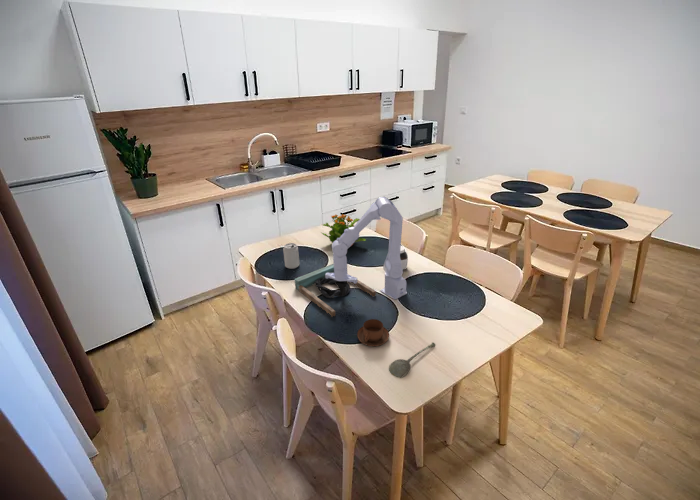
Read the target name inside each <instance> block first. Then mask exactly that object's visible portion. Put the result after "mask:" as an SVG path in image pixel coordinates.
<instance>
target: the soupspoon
mask: <svg viewBox="0 0 700 500" xmlns="http://www.w3.org/2000/svg"><path fill="white" fill-rule="evenodd" d="M432 347H436V343H435V342H431V344H429V345H427V346H425V347H424V348H422V349H421V350H419V351H418V352H416V353H415V354H414V355H412V356H411V357H409V358H408V359H404V358H403V359H402V358H400V359H399V358H398V359H396V360H394V361H391V363H390V364H389V367H388V372H389V374H390V375H392V376H393V377H395V378H399V379H401V378H403V377H405V376H406V375H407V374H408V373H409V372H410V368H411V364H410V362H411V361H412V360H413V359H414V358H417V356H419V355H420V354H421V353H423V352H425V351H426V350H428V349H430V348H432Z"/></svg>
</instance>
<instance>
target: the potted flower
mask: <svg viewBox="0 0 700 500" xmlns="http://www.w3.org/2000/svg"><path fill="white" fill-rule="evenodd" d="M330 217H331V219H332V221H333V222H334V223H333V224H332V225H330V224H329V223H328V222H325V223H323V225H322V227H328V228H329V229H330V230H329V231H328V234H327V233H324V232H321V234H322V235H323V236H325V237H327V238H328V239H329V241H330V242H331V243H333V242H334V241H335V240H337V238H340V237H341V236H342V234H343V233H344V230H345V229H348V228H349V227H354V226H355V225H356V223H357V222H358V221H359V220H360V219H361V218H357V217H356V218H355V219H352V218H351V216H348V215H346V214H341V215H337V214H334V215H330ZM345 220H346V221H345ZM365 241H366V238H364V237H359V238H358V239H357V240H356V241H355V242H354V243H353V244H352V245H351V246H350V247H352V246H353V245H354V244H355V243H359V242H365Z"/></svg>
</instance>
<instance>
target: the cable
mask: <svg viewBox="0 0 700 500" xmlns="http://www.w3.org/2000/svg"><path fill="white" fill-rule="evenodd" d="M336 281H337V280H334V279H331V278H328V279H327V278H322V279H319V278H318V279H317V280H316V282H314V283H315V284H314V285H315V287H316V288H317V290H318V291H319V294H321V295H323V296H324V297H325V298H326V299H334V297H345V296H347V295H348V294H349V293H350V288H351V284H350V282H347V284H346V287H345V294H344V295H341V292H340V290H333V289H330V288H328V287H327V286H323V284H329V285H332V284H336Z"/></svg>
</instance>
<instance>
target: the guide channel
mask: <svg viewBox="0 0 700 500" xmlns="http://www.w3.org/2000/svg"><path fill="white" fill-rule="evenodd" d="M326 273H334V264H333V263H331V264H329V265H327V266H324V267H322V268H319V269H316V270H314V271H312V272H311V271H310V272H309V273H307V274H303V275H301V276H298V277H297V278H296V277H295V278H294V284H295V285H294V286H295V289H296V290H297V291H299V293H301V294H303V296H305V297H306V298H307V299H308V300H310V301H311V302H312V303H314V304H315V305H316V304H317V306H318V307H319V308H320V307H321V308H322V311H324V310H325V311H326V312H325V311H324V312H325V313H327V314H328V313H329V314H330V315H331V316H330V315H329V314H328V315H329V316H330V317H331V318H333V316H334V317H335V316H336V310H334V308H332V306H330V305H329V304H327V303H326V302H325V301H323V300H321V299H320V298H319V297H317V296H316V295H315V294H314V293H313V292H311V291H310V290H308V288H309V287H311V286H314V285H316V284H315V283H314V282H316V280H317V279H318V278H319V279H322V278H326V277H325V274H326ZM348 275H350V274H349V273H348ZM357 280H358V282H357V283H356V284H354V282H349V284H352V285H354V286H356V288H358V289H360V290H362V291H363V292H365V293H366V292H367V294H368V293H369V294H370V295H369V294H368V295H369V296H371V295H372V296H371V297H373V296H374V297H376V296H377V292H376V291H377V290H375V289H374V288H372V287H370V286H369V285H367V284H366V283H364V282H362V281H360V280H359V279H357ZM375 295H376V296H375ZM321 308H320V309H321Z"/></svg>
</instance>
